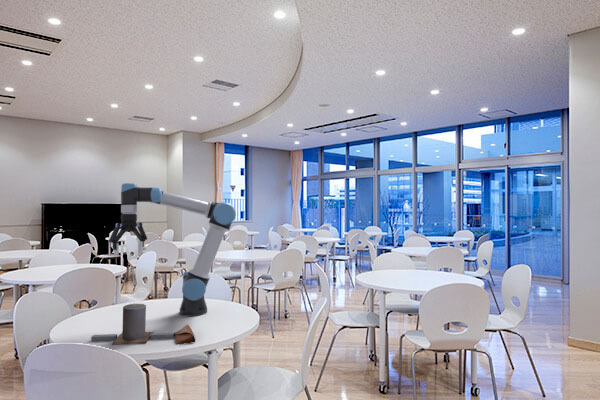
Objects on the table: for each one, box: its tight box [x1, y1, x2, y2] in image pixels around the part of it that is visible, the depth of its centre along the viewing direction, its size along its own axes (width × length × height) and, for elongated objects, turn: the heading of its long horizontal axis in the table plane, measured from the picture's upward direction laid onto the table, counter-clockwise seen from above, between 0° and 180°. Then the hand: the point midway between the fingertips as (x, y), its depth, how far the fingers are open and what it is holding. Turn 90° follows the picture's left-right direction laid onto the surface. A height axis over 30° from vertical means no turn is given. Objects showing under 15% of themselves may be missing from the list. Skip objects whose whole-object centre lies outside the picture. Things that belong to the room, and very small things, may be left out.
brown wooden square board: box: [111, 331, 155, 346], centre depth 181 cm, size 14×14×1 cm
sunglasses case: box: [174, 324, 196, 346], centre depth 183 cm, size 18×7×7 cm
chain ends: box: [90, 331, 176, 342], centre depth 181 cm, size 35×3×2 cm, turn 97°
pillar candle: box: [121, 302, 147, 340], centre depth 181 cm, size 10×10×15 cm
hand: (128, 255), depth 206 cm, fingers open, 13 cm apart
